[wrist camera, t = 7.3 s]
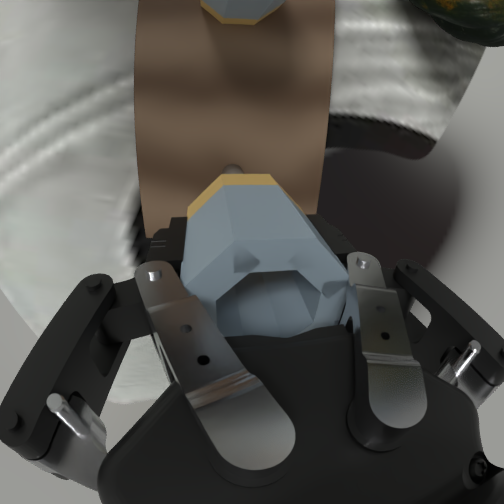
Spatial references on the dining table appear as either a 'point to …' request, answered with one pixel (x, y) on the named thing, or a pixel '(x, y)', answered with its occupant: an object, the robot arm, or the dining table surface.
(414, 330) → the robot arm
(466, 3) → the squash
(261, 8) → the seated sleeve
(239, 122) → the pin board
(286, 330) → the slate sleeve
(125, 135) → the dining table surface
